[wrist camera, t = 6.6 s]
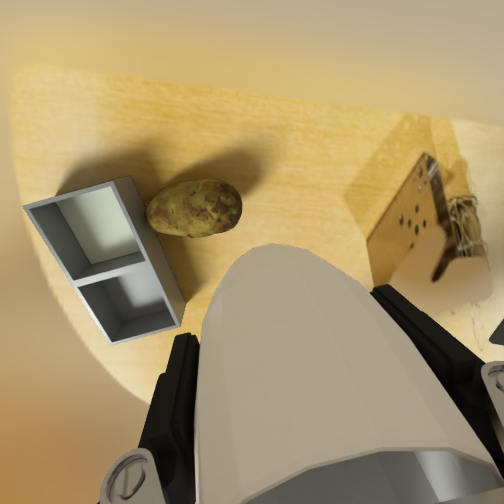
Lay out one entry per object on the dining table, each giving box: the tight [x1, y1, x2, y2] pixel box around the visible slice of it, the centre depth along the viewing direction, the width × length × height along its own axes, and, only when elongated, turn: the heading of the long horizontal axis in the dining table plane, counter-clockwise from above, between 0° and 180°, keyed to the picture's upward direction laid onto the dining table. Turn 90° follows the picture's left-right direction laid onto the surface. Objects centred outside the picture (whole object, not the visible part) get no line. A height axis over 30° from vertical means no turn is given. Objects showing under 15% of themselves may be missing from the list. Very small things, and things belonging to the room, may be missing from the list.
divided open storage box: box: [22, 175, 186, 346], centre depth 37 cm, size 22×11×6 cm, turn 14°
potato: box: [144, 179, 242, 238], centre depth 34 cm, size 8×13×8 cm, turn 81°
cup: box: [193, 243, 504, 504], centre depth 15 cm, size 7×7×21 cm
